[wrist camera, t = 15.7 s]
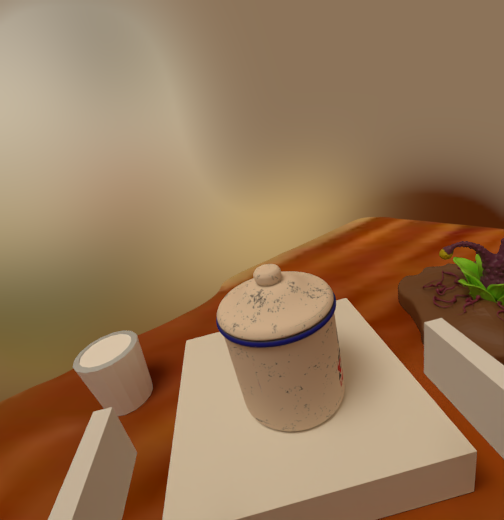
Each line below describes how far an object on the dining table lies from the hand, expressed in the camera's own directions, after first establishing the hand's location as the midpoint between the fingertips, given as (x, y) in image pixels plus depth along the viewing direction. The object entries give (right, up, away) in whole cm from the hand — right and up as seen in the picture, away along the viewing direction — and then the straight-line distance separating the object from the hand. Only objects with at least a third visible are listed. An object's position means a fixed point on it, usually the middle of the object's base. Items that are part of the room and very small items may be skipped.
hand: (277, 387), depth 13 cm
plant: (+27, -1, +22) cm, 35 cm away
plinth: (+3, -9, +17) cm, 19 cm away
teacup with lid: (+2, -6, +15) cm, 16 cm away
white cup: (-15, -11, +24) cm, 30 cm away
